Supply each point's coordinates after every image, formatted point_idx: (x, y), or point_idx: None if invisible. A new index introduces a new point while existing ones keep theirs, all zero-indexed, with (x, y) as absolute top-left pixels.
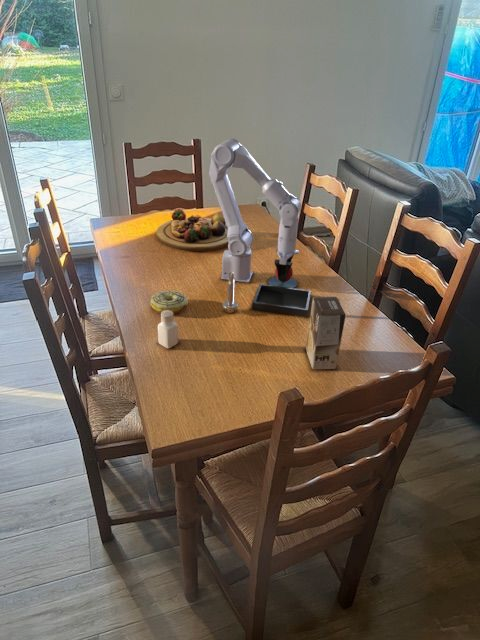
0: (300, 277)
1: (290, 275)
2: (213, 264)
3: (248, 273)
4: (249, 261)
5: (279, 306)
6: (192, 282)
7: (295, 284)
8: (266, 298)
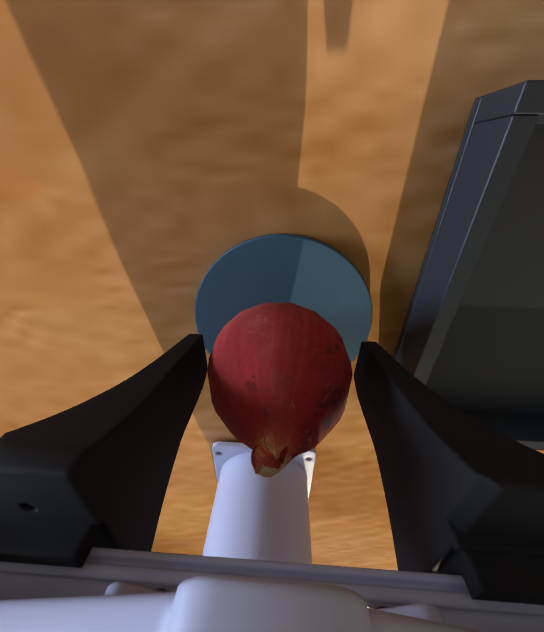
0: (148, 217)
1: (323, 325)
2: (201, 523)
3: (281, 478)
4: (277, 557)
5: None
6: (341, 546)
7: (289, 247)
8: (482, 383)
